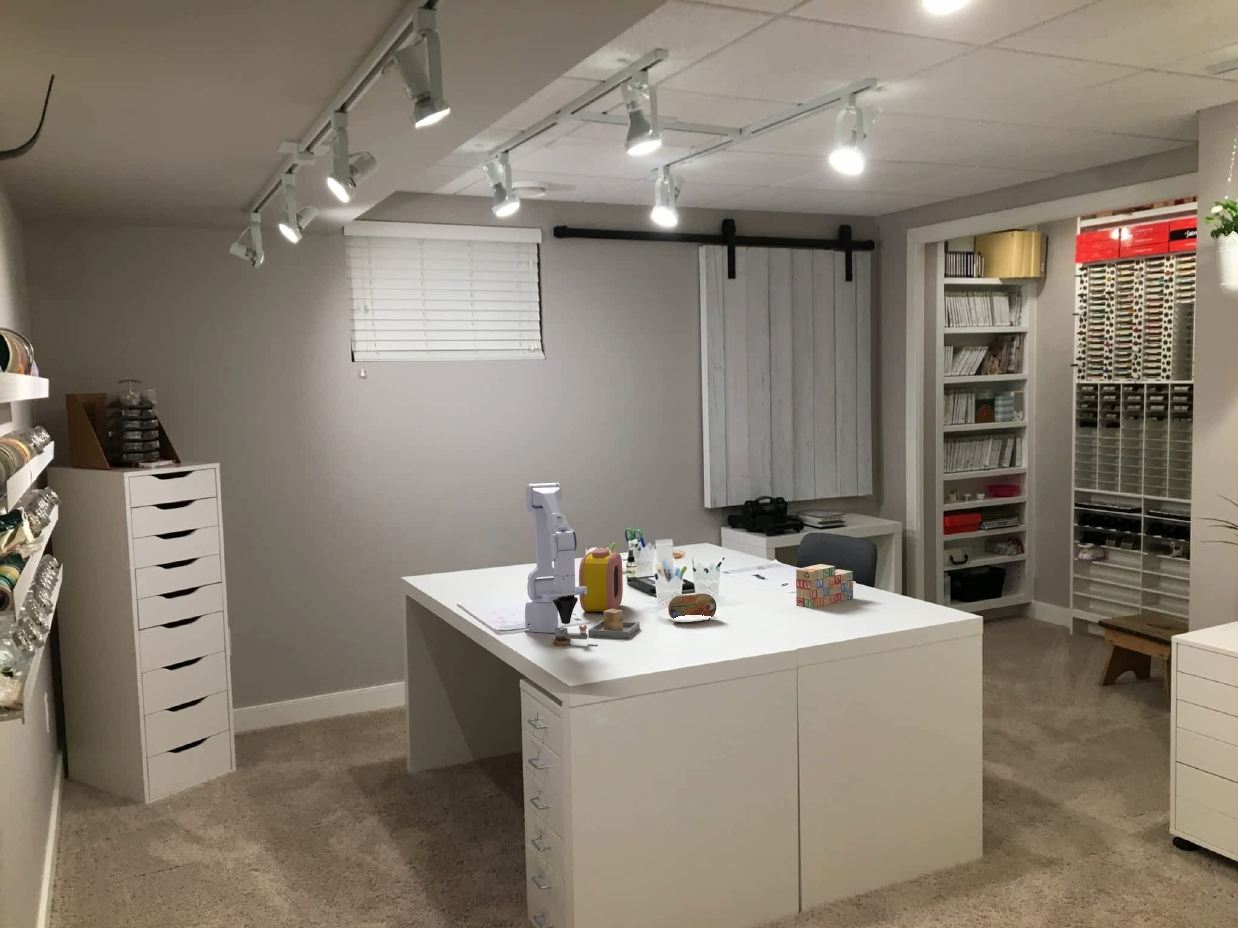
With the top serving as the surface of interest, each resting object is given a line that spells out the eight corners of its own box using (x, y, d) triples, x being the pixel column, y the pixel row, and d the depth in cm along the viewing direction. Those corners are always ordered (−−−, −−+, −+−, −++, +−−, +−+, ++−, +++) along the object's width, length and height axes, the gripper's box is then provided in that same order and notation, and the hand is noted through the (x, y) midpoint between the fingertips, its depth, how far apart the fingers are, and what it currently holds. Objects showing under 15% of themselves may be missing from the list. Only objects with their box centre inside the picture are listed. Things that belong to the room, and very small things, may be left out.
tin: (670, 624, 305) (670, 596, 304) (667, 622, 308) (666, 594, 307) (717, 620, 309) (716, 593, 308) (713, 617, 312) (712, 591, 311)
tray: (588, 636, 292) (588, 629, 291) (601, 626, 303) (601, 620, 303) (628, 638, 288) (628, 632, 288) (639, 628, 300) (639, 622, 299)
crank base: (550, 645, 283) (549, 641, 283) (556, 640, 288) (556, 636, 288) (594, 647, 279) (594, 643, 279) (599, 643, 284) (599, 639, 284)
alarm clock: (612, 616, 316) (611, 555, 314) (578, 615, 318) (576, 554, 317) (624, 603, 334) (622, 545, 332) (591, 602, 336) (590, 545, 335)
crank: (553, 639, 283) (552, 625, 283) (557, 636, 287) (557, 622, 286) (585, 641, 281) (584, 627, 280) (588, 638, 284) (588, 624, 284)
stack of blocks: (838, 596, 340) (838, 560, 339) (853, 599, 335) (853, 562, 334) (795, 605, 326) (795, 568, 325) (810, 609, 321) (810, 570, 320)
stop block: (603, 631, 295) (603, 611, 294) (612, 628, 298) (611, 608, 298) (614, 633, 292) (614, 612, 292) (623, 630, 296) (622, 610, 295)
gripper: (553, 580, 268) (554, 630, 269) (594, 572, 278) (595, 620, 279) (536, 576, 273) (538, 626, 275) (577, 569, 283) (578, 616, 284)
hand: (565, 623), depth 277 cm, fingers closed
